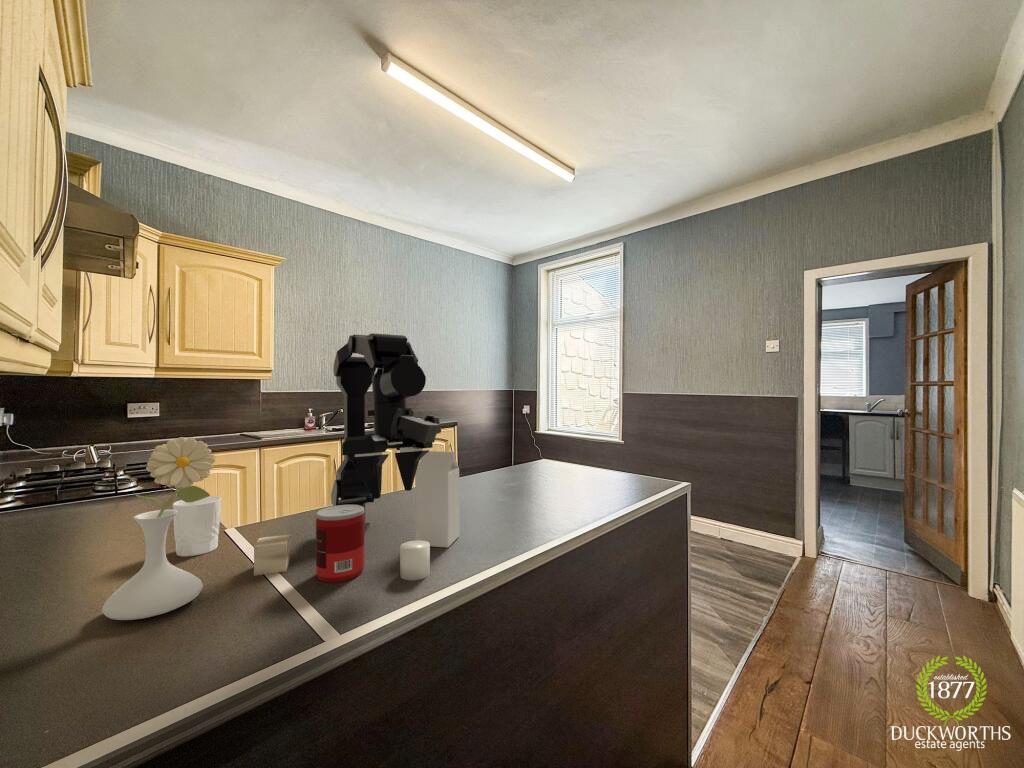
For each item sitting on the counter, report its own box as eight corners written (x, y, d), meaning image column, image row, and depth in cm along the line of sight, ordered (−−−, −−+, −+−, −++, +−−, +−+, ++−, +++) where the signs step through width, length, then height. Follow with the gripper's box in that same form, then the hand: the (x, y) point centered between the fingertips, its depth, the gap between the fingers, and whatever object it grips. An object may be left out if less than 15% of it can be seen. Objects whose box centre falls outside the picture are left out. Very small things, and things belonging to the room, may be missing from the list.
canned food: (373, 567, 77) (373, 506, 78) (342, 586, 70) (342, 518, 70) (339, 561, 80) (339, 502, 80) (305, 579, 72) (305, 514, 73)
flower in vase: (84, 637, 56) (86, 444, 56) (122, 598, 66) (124, 436, 66) (205, 615, 61) (206, 439, 61) (222, 583, 71) (223, 432, 72)
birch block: (259, 565, 79) (259, 538, 79) (289, 561, 81) (289, 534, 81) (253, 576, 74) (254, 547, 74) (286, 571, 76) (286, 543, 76)
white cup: (225, 550, 86) (225, 500, 87) (176, 561, 81) (177, 508, 81) (215, 540, 92) (215, 494, 92) (168, 551, 86) (169, 501, 86)
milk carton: (448, 548, 86) (448, 454, 87) (415, 546, 88) (415, 453, 88) (459, 536, 93) (459, 449, 94) (429, 534, 95) (428, 448, 95)
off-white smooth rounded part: (402, 569, 77) (402, 540, 77) (430, 567, 77) (430, 539, 77) (398, 581, 72) (398, 551, 72) (428, 579, 72) (428, 549, 72)
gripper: (398, 395, 64) (403, 502, 62) (454, 402, 82) (459, 485, 80) (338, 402, 68) (340, 503, 66) (404, 407, 85) (408, 487, 83)
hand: (393, 494), depth 74 cm, fingers open, 9 cm apart
